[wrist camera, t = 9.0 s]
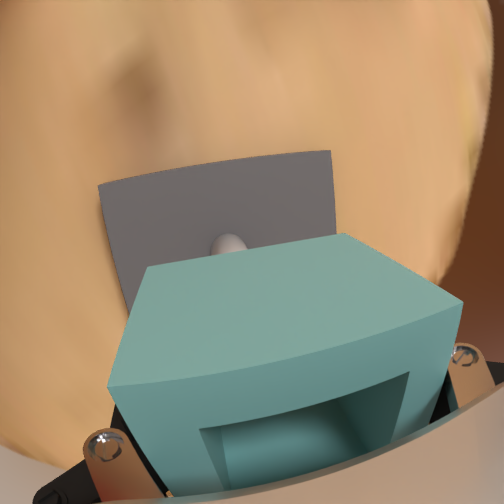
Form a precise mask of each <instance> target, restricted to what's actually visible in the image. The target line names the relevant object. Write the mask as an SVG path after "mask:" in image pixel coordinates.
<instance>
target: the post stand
mask: <svg viewBox="0 0 504 504" xmlns="http://www.w3.org/2000/svg"><path fill="white" fill-rule="evenodd" d="M98 190H99V195H100V201H101V206H102V211H103V216H104V220H105V225H106V229H107V234H108V238H109V242H110V247H111V251H112V255H113V259H114V263H115V266H116V270H117V274H118V277H119V281H120V285H121V288H122V291H123V295H124V298H125V302H126V305H127V308H128V311H129V314H130V313H131V310H132V307H133V304H134V301H135V299H136V296H137V293H138V290H139V288H140V285H141V282H142V280H143V277H144V274H145V272H146V269H147V267H149V266H155V265H160V264H166V263H172V262H178V261H183V260H189V259H195V258H201V257H207V256H212V255H218V254H224V253H230V252H236V251H241V250H247V249H253V248H259V247H265V246H271V245H276V244H282V243H288V242H294V241H300V240H306V239H312V238H318V237H323V236H329V235H335V234H336V214H335V198H334V183H333V171H332V159H331V150H321V151H308V152H296V153H286V154H276V155H267V156H258V157H250V158H242V159H234V160H227V161H220V162H213V163H207V164H200V165H194V166H188V167H182V168H176V169H171V170H165V171H160V172H155V173H150V174H145V175H140V176H135V177H130V178H126V179H121V180H117V181H112V182H108V183H104V184H101V185H98Z"/></svg>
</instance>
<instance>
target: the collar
mask: <svg viewBox="0 0 504 504" xmlns="http://www.w3.org/2000/svg"><path fill="white" fill-rule="evenodd" d="M462 307H463V302H462V301H461V300H459V299H457V298H456V297H454V296H453V295H451V294H449V293H448V292H446V291H444V290H443V289H441V288H440V287H438V286H436V285H435V284H433V283H432V282H430V281H428V280H427V279H425V278H423V277H422V276H420V275H418V274H416V273H415V272H413V271H411V270H410V269H408V268H406V267H405V266H403V265H401V264H399V263H398V262H396V261H394V260H392V259H391V258H389V257H387V256H385V255H384V254H382V253H380V252H378V251H377V250H375V249H373V248H371V247H369V246H368V245H366V244H364V243H362V242H360V241H359V240H357V239H355V238H353V237H351V236H349V235H348V234H346V233H341V234H335V235H329V236H323V237H318V238H312V239H306V240H300V241H294V242H288V243H282V244H276V245H271V246H265V247H259V248H253V249H247V250H241V251H236V252H230V253H224V254H218V255H212V256H207V257H201V258H195V259H189V260H183V261H178V262H172V263H166V264H160V265H155V266H149V267H147V269H146V272H145V274H144V277H143V280H142V282H141V285H140V288H139V290H138V293H137V296H136V299H135V301H134V304H133V307H132V310H131V313H130V315H129V318H128V321H127V324H126V327H125V330H124V333H123V336H122V339H121V342H120V345H119V348H118V351H117V355H116V358H115V361H114V364H113V368H112V371H111V374H110V378H109V381H108V385H107V388H108V390H109V392H110V394H111V396H112V398H113V400H114V402H115V404H116V406H117V408H118V409H119V411H120V413H121V415H122V417H123V419H124V420H125V422H126V424H127V426H128V427H129V429H130V431H131V433H132V434H133V436H134V438H135V439H136V441H137V443H138V444H139V446H140V448H141V449H142V451H143V452H144V454H145V455H146V457H147V459H148V460H149V462H150V463H151V465H152V466H153V468H154V469H155V471H156V472H157V474H158V475H159V476H160V478H161V479H162V481H163V482H164V484H165V485H166V486H167V488H168V489H169V490H170V492H171V493H172V495H173V496H174V497H181V496H192V495H200V494H208V493H216V492H224V491H230V490H236V489H242V488H248V487H253V486H258V485H263V484H267V483H272V482H276V481H281V480H285V479H289V478H292V477H296V476H300V475H304V474H307V473H311V472H314V471H317V470H321V469H324V468H327V467H330V466H333V465H336V464H339V463H342V462H345V461H348V460H350V459H353V458H356V457H358V456H361V455H364V454H366V453H369V452H371V451H374V450H376V449H379V448H381V447H383V446H386V445H388V444H390V443H392V442H395V441H397V440H399V439H401V438H404V437H406V436H408V435H410V434H412V433H414V432H416V431H418V430H420V429H422V428H424V427H426V426H428V424H429V421H430V418H431V416H432V413H433V411H434V408H435V405H436V402H437V400H438V397H439V394H440V391H441V388H442V385H443V382H444V378H445V375H446V372H447V369H448V365H449V362H450V358H451V354H452V351H453V347H454V343H455V339H456V335H457V330H458V326H459V321H460V317H461V311H462Z"/></svg>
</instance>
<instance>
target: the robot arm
mask: <svg viewBox="0 0 504 504" xmlns="http://www.w3.org/2000/svg"><path fill="white" fill-rule="evenodd" d="M83 455H84V458H85V459H84V460H83V461H81V462H80V463H78V464H77V465H75V466H74V467H72V468H71V469H69V470H68V471H66V472H65V473H63V474H62V475H61V476H59V477H57V478H56V479H54V480H53V481H52V482H50V483H48V484H47V485H45V486H44V487H42V488H41V489H40V490H38V491H37V493H36V494H35V496H34V499H33V504H504V363H498V362H489V361H485V360H484V358H483V355H482V353H481V352H480V351H479V349H477V348H476V347H474V346H472V345H470V344H466V343H456V344H454V347H453V351H452V354H451V358H450V362H449V365H448V369H447V372H446V375H445V378H444V382H443V385H442V388H441V391H440V394H439V397H438V400H437V402H436V405H435V408H434V411H433V413H432V416H431V418H430V421H429V424H428V426H426V427H424V428H422V429H420V430H418V431H416V432H414V433H412V434H410V435H408V436H406V437H404V438H401V439H399V440H397V441H395V442H392V443H390V444H388V445H386V446H383V447H381V448H379V449H376V450H374V451H371V452H369V453H366V454H364V455H361V456H358V457H356V458H353V459H350V460H348V461H345V462H342V463H339V464H336V465H333V466H330V467H327V468H324V469H321V470H317V471H314V472H311V473H307V474H304V475H300V476H296V477H292V478H289V479H285V480H281V481H276V482H272V483H267V484H263V485H258V486H253V487H248V488H242V489H236V490H230V491H224V492H216V493H208V494H200V495H192V496H181V497H168V495H167V494H166V492H167V491H168V490H169V489H168V488H167V486H166V485H165V484H164V482H163V481H162V479H161V478H160V476H159V475H158V474H157V472H156V471H155V469H154V468H153V466H152V465H151V463H150V462H149V460H148V459H147V457H146V455H145V454H144V452H143V451H142V449H141V448H140V446H139V444H138V443H137V441H136V439H135V438H134V436H133V434H132V433H131V431H130V429H129V427H128V426H127V424H126V422H125V420H124V419H123V417H122V415H121V413H120V411H119V409H118V408H117V406H116V404H115V407H114V412H113V416H112V421H111V426H110V428H104V429H101V430H98V431H96V432H94V433H92V434H91V435H90V436H89V437H88V438H87V439H86V441H85V443H84V446H83Z"/></svg>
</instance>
